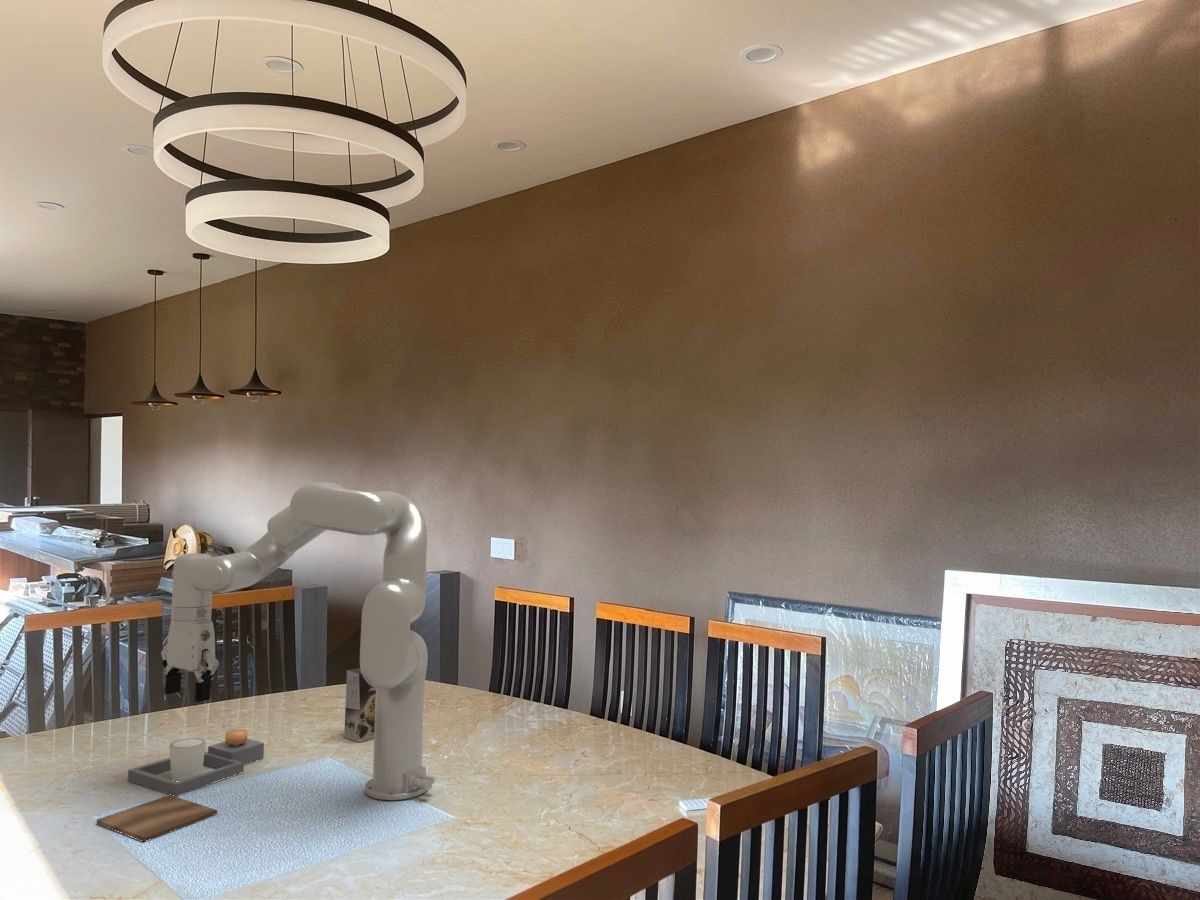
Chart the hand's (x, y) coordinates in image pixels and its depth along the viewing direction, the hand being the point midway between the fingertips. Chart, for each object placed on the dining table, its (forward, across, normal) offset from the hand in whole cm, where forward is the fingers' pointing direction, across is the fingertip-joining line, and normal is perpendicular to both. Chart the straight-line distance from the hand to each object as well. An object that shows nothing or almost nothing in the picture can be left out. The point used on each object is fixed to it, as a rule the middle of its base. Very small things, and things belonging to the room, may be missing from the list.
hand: (187, 696), depth 176 cm
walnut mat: (+16, -16, +16) cm, 27 cm away
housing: (+16, -1, -4) cm, 17 cm away
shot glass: (+17, -1, 0) cm, 17 cm away
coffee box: (+16, -12, -40) cm, 45 cm away
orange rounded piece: (+15, -1, -12) cm, 19 cm away
